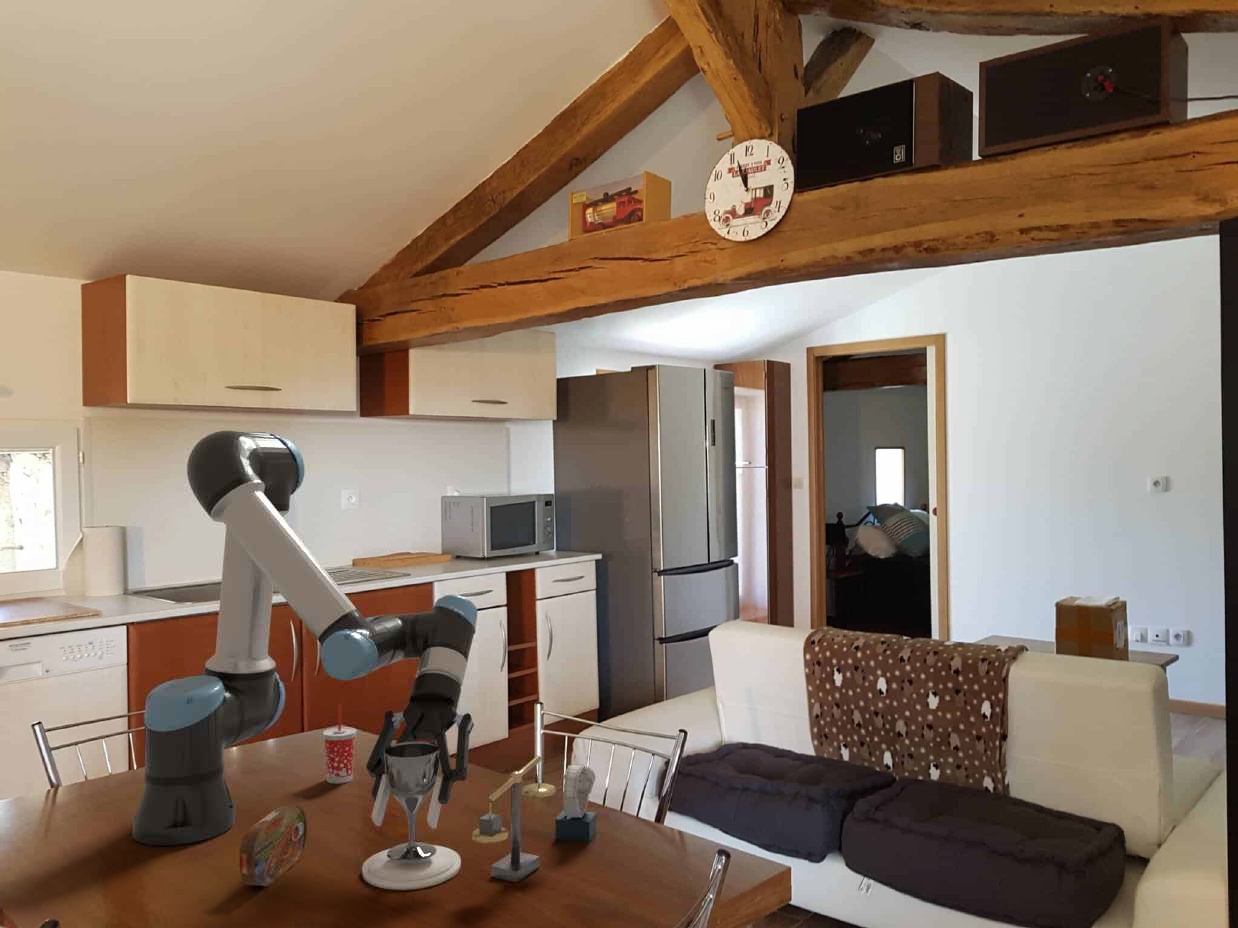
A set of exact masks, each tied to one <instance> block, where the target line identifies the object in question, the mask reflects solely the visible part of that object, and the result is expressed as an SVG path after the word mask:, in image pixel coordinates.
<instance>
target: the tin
mask: <svg viewBox="0 0 1238 928" xmlns="http://www.w3.org/2000/svg"><path fill="white" fill-rule="evenodd" d="M307 830H308V827H307V819H306V815H305V812H304V810H303V809H302V807H300V806H299V805H290V806H289V805H287V806H285V805H284V806H279V807H277V808H275V809H274V810H273V811H271V812H269V813H268V814H267V815H265V816H264V817H263V818H261V819H260V820H258V821H257V822H256V823H254V824H253V825H251V826H250V827H249V828H248V830H246V832H245V834H244V835H243V838H242V840H241V842H240V847H239V850H238V855H239V871H240V872H239V873H240V878H241V880H242V881H243V883H244V884H246V885H247V886H253V887H254V886H258V887H259V886H260V887H268V886H270V885H272V884H273V883H274V882H275V881H277V879H279V878H280V877H281V876H283V874H284V873H286V872H287V871H288V870H289V869H291V868H292V867H293V866H294V865H295V864H297V862H298V861H299V860H300V858H301V857H302V854H303V853H304V849H305V847H306V841H307V832H308V831H307Z"/></svg>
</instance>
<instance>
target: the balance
mask: <svg viewBox="0 0 1238 928" xmlns="http://www.w3.org/2000/svg"><path fill="white" fill-rule="evenodd" d="M541 761H542V756H541V755H536V756H535V757H534V758H533V759H531V760H530V761H529V762H528V763H527V764H526V765H524V766H523V767H522V768H521V769H520V770H518V771H513V772H511V773H510V775H509V779H508V780H506V781H505V782H504V783H503V784H501V786H500V787H498V788H497V789H496V790H495V791H493V793H492V794H490V795H489V796H488V797H487V800H488V802H489V812H488V813H486V814H484V815H483V816H481V817H479V820H478V822H479V823H478V825H479V826H478V828H477V829H474V830H473V831H472V835H471V838H472V840H473V841H475V842H476V843H479V844H496V843H497V844H498V843H501V842H503V841H506V840H507V839H508V838H509V836H510V853H509V854H508V855H506V856H504V857H503V858H502V859H500V860H498V861H497V862H495V863H493V864H492V865H490V866H491V867H490V869H491V870H490V872H491V873H490V874H491V875H490V877H493V878H496V879H500V880H501V879H502V880H505V881H510V882H514V883H518V882H520V881H521V880H523V879H524V878H526V877H527V876H528V875H530V874H531V873H532V872H534V871H536V870H537V869H538V868H540V864H541V863H540V861H541V860H540V858H541V856H539V855H536V854H535V855H534V854H530V853H526V852H525V853H524V852H522V851H521V850H522V849H521V846H522V845H521V843H522V842H521V841H522V839H521V837H522V836H521V834H522V833H521V829H522V828H521V827H522V826H521V822H522V821H521V820H522V819H521V809H522V808H521V807H522V806H521V803H522V802H521V800H522V799H521V797H522V796H521V794H522V795H523V796H525V797H529V798H532V799H533V798H535V799H537V798H538V799H542V798H547V797H551V796H553V795H555V794H556V791H557V789H556V786H555V785H553V784H549V783H544V782H543V783H542V782H541V779H540V776H541V774H540V773H541V771H540V769H541V768H540V767H541V766H540V765H541V764H540V763H541ZM535 766H537V783H530V784H527V785H524V786H523V787H522V785H521V784H522V783H521V782H522V781H523V780H522V779H523V776H524V775H526V774H527V773H528V772H529V771H530V770H532V769H533V768H534V767H535ZM521 787H522V789H521ZM509 789H510V835H509V830H508V829H507V828H505V827H502V825H503V824H502V823H503V822H502V818H503V817H502V815H500V814H495V813H492V803H493V802H495V800H497V799H498V798H499V797H500V796H501V795H503V794H504V793H505V792H506V791H507V790H509ZM521 791H522V792H521Z"/></svg>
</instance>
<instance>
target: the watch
mask: <svg viewBox="0 0 1238 928" xmlns="http://www.w3.org/2000/svg"><path fill="white" fill-rule="evenodd" d="M562 780H564V782H563V797H562V804H563V809H562V811H561V812H560V813H559V814H558V816H557V817H556V818H555V840H561V841H562V840H563V841H573V842H585V843H590V842H591V841H592V839H593V837H594V836H595V835H596V833H597V812H593V811H587V807H588V803H589V795H590V794H591V793H592V790H593V786H594V783H595V781H596V773H595V771H594V770H593V769H592V768H591V767H589V766H587V765H585V764H582V763H573V764H569V765H568V766H567V768H566V771H565V774H564V773H562Z"/></svg>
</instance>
